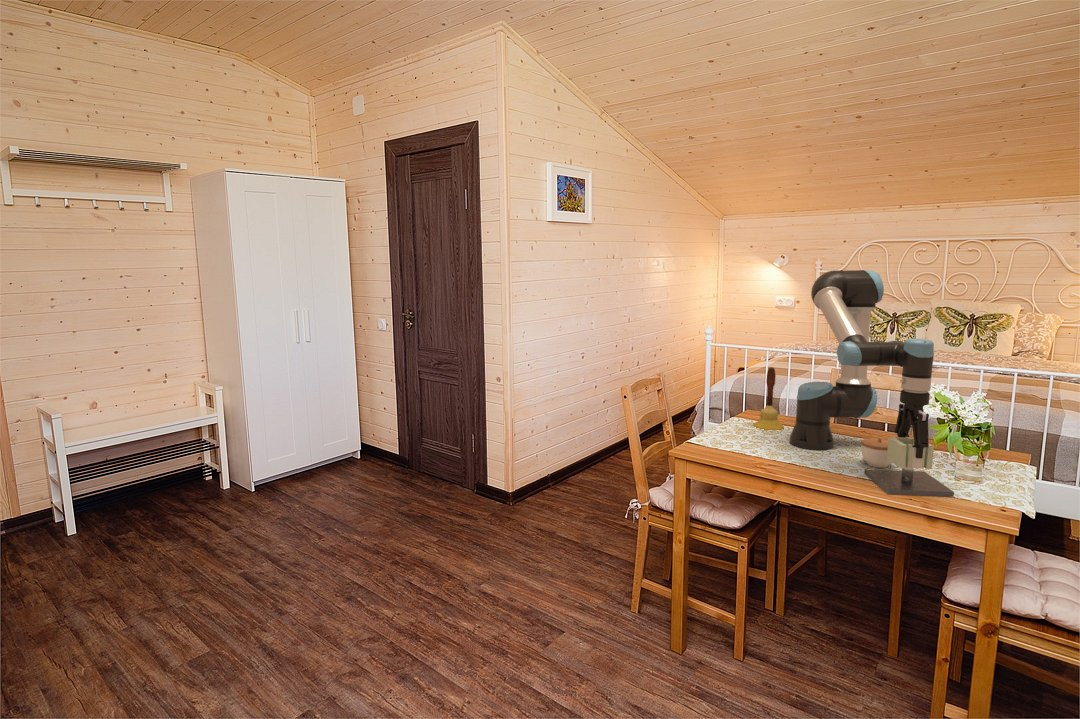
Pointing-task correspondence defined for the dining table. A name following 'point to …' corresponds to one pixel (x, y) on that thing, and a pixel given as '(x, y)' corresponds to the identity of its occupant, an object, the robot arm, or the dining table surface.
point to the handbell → (769, 407)
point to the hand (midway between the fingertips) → (908, 462)
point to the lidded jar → (875, 452)
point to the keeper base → (908, 482)
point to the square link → (903, 444)
